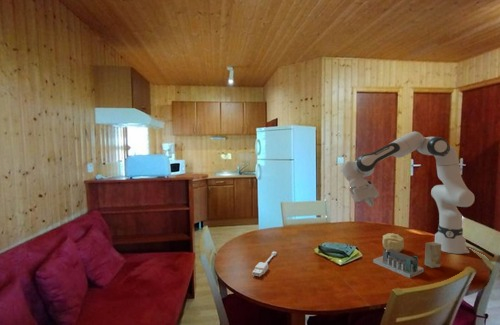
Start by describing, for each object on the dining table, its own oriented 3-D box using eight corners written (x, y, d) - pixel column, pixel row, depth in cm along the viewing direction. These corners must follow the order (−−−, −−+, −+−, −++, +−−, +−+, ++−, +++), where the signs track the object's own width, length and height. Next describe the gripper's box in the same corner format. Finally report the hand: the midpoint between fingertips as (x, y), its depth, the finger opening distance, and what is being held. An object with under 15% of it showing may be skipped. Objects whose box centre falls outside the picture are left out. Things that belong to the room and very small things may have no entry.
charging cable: (279, 255, 161) (279, 249, 161) (260, 278, 132) (260, 271, 131) (271, 254, 163) (271, 248, 163) (251, 276, 133) (251, 269, 133)
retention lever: (384, 250, 145) (412, 260, 132) (389, 248, 147) (417, 258, 134) (384, 253, 145) (412, 264, 132) (389, 252, 147) (417, 262, 134)
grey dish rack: (373, 262, 147) (373, 248, 146) (386, 257, 153) (387, 244, 152) (409, 278, 129) (410, 262, 129) (423, 272, 135) (424, 256, 135)
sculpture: (382, 252, 160) (382, 235, 160) (382, 245, 171) (382, 229, 170) (403, 255, 155) (404, 237, 154) (403, 248, 166) (403, 231, 165)
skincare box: (431, 268, 139) (432, 245, 138) (424, 264, 143) (424, 242, 142) (441, 266, 141) (441, 244, 140) (433, 263, 145) (434, 241, 144)
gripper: (351, 184, 154) (365, 206, 147) (373, 181, 165) (386, 200, 158) (344, 190, 158) (357, 211, 152) (365, 186, 169) (378, 205, 163)
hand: (372, 205), depth 155 cm, fingers closed
